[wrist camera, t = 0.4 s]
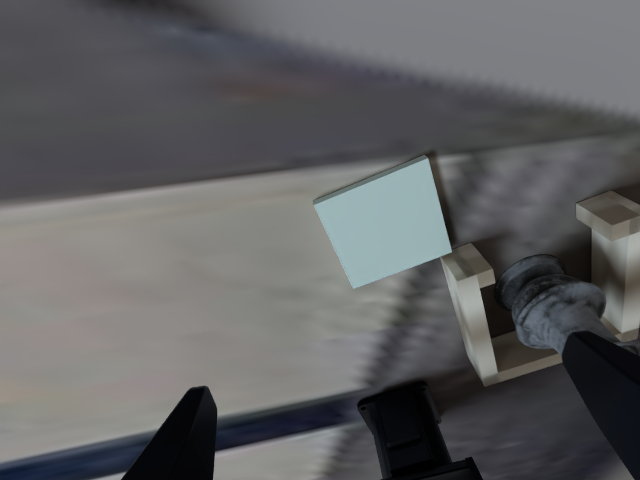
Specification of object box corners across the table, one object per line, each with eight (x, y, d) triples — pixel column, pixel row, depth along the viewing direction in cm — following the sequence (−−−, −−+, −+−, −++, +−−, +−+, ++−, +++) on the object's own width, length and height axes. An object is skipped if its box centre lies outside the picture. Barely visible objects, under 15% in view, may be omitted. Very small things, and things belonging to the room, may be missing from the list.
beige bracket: (606, 310, 29) (637, 338, 26) (467, 356, 30) (484, 386, 28) (611, 190, 23) (651, 211, 20) (439, 254, 24) (457, 281, 22)
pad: (448, 247, 24) (452, 252, 24) (351, 283, 25) (353, 289, 25) (424, 154, 21) (428, 158, 20) (313, 200, 22) (313, 205, 21)
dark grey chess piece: (477, 282, 26) (601, 449, 16) (554, 236, 24) (748, 389, 14) (507, 325, 29) (631, 492, 18) (579, 286, 27) (757, 445, 17)
